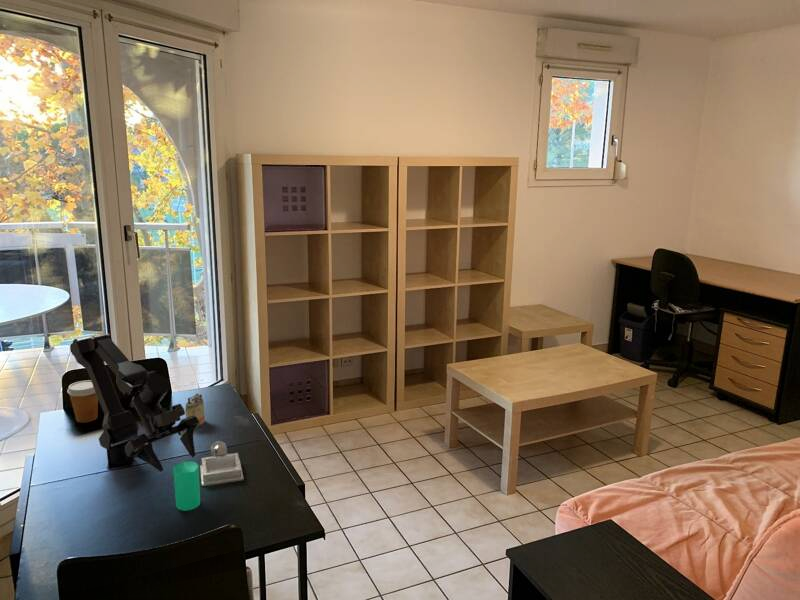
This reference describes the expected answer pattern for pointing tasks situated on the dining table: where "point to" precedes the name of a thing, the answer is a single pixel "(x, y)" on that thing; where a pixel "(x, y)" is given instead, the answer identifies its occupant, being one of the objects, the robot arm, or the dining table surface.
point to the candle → (187, 485)
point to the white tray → (220, 466)
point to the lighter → (196, 408)
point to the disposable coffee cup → (84, 401)
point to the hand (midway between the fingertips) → (178, 463)
